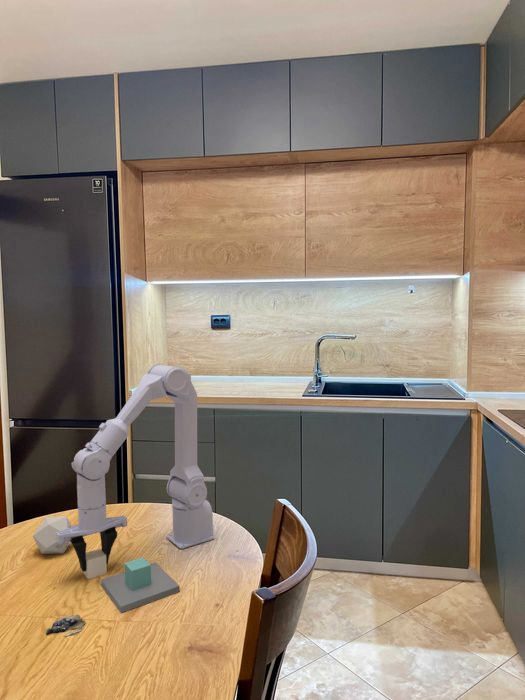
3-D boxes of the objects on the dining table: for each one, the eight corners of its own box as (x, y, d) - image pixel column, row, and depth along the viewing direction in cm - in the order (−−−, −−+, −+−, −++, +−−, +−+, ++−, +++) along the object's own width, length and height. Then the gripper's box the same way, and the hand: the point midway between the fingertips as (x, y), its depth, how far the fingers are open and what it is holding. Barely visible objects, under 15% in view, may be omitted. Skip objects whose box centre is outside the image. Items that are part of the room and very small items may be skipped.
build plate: (155, 567, 109) (155, 562, 109) (179, 591, 99) (179, 585, 99) (101, 585, 102) (100, 579, 102) (121, 612, 92) (120, 606, 92)
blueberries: (90, 631, 88) (90, 620, 88) (43, 651, 82) (43, 641, 82) (76, 614, 93) (76, 604, 93) (31, 632, 87) (30, 622, 87)
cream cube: (100, 565, 110) (100, 548, 109) (106, 573, 106) (106, 555, 106) (82, 571, 107) (81, 553, 107) (87, 579, 104) (87, 561, 104)
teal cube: (143, 575, 103) (143, 557, 103) (151, 584, 100) (150, 564, 99) (125, 581, 101) (124, 563, 100) (132, 590, 97) (131, 571, 97)
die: (49, 566, 111) (75, 527, 114) (19, 545, 113) (45, 507, 115) (63, 561, 119) (87, 525, 122) (34, 542, 120) (59, 506, 123)
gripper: (118, 492, 113) (120, 549, 114) (51, 507, 105) (54, 568, 106) (129, 501, 108) (131, 561, 109) (60, 517, 99) (62, 582, 100)
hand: (94, 566), depth 107 cm, fingers closed on cream cube, 4 cm apart
